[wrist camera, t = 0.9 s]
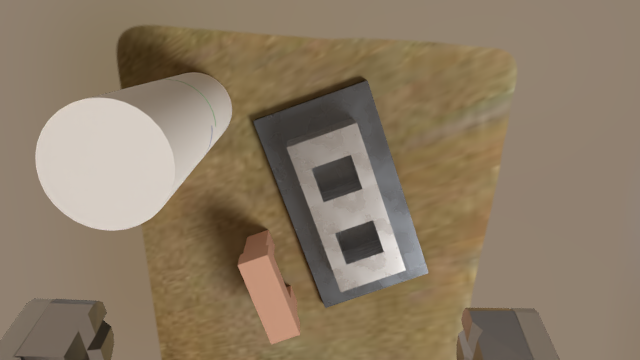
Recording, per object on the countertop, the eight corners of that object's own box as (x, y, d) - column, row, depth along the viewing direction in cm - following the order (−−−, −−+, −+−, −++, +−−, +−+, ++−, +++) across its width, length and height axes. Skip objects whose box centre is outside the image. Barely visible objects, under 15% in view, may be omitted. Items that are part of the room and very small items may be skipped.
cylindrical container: (155, 137, 51) (31, 218, 27) (163, 65, 49) (39, 85, 25) (226, 149, 52) (166, 240, 28) (236, 79, 50) (183, 111, 26)
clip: (299, 300, 57) (300, 334, 50) (274, 308, 57) (271, 344, 50) (270, 228, 54) (267, 254, 48) (244, 237, 54) (237, 265, 48)
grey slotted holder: (426, 269, 56) (437, 287, 52) (324, 304, 57) (327, 324, 53) (366, 79, 51) (372, 83, 47) (253, 120, 51) (250, 126, 47)
